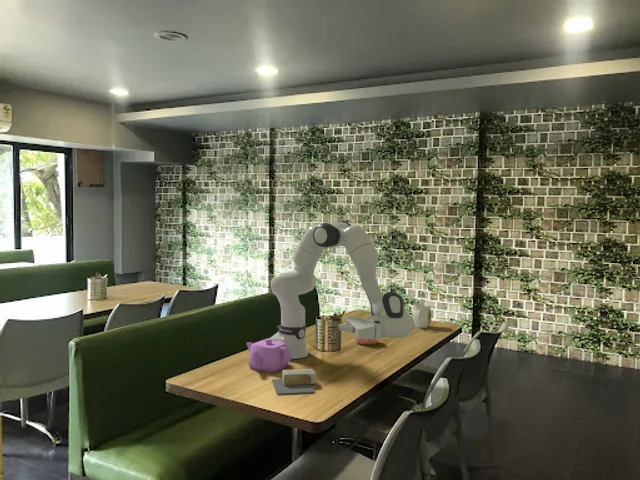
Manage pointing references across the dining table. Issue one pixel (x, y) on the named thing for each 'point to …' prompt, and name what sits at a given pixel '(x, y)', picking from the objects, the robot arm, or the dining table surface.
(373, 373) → the dining table surface
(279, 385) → the mat
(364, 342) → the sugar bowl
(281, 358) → the teakettle
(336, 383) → the dining table surface
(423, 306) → the pitcher
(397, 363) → the dining table surface
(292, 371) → the skincare box
